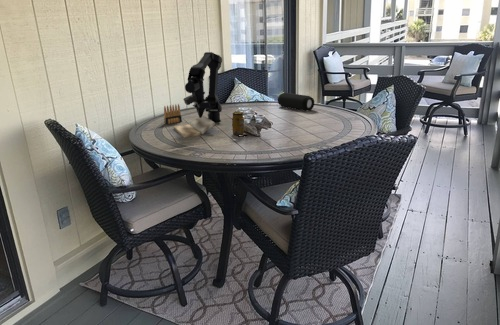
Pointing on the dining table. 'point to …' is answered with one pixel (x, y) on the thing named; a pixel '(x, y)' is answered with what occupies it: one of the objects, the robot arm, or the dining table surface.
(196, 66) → the robot arm
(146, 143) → the dining table surface
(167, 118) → the ammunition clip
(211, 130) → the underlay mat
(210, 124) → the loose plank
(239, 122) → the condiment
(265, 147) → the dining table surface
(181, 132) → the plank
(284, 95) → the portable speaker
